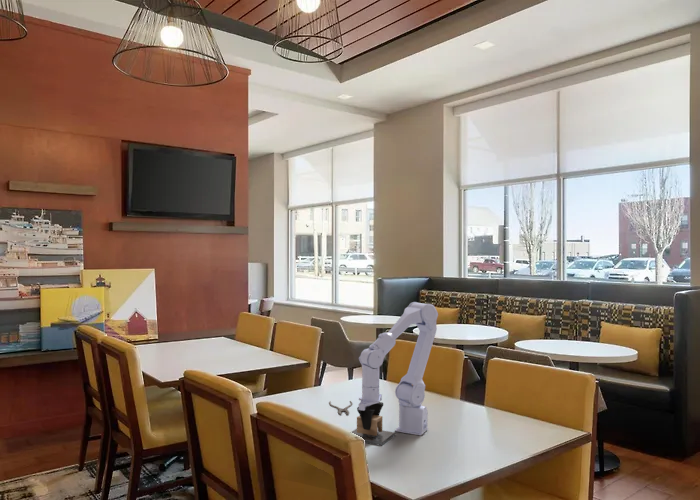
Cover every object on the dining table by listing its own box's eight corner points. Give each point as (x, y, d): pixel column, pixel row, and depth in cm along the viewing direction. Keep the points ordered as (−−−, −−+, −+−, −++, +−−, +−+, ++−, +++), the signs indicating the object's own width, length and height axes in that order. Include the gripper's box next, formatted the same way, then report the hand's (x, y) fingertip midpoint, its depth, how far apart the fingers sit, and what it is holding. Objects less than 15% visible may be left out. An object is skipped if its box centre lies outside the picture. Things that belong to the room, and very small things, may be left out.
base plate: (394, 435, 179) (394, 424, 179) (381, 445, 170) (381, 434, 170) (359, 429, 185) (359, 419, 185) (345, 439, 175) (345, 428, 175)
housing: (382, 431, 178) (382, 416, 178) (376, 435, 174) (376, 420, 174) (363, 428, 181) (363, 413, 181) (356, 432, 177) (356, 417, 177)
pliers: (349, 399, 223) (365, 412, 204) (349, 401, 223) (365, 415, 204) (327, 401, 220) (340, 414, 201) (326, 403, 220) (340, 417, 201)
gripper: (368, 379, 186) (368, 419, 186) (350, 389, 173) (349, 431, 173) (387, 382, 183) (387, 422, 183) (370, 391, 170) (369, 434, 170)
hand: (370, 426), depth 177 cm, fingers closed on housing, 5 cm apart
